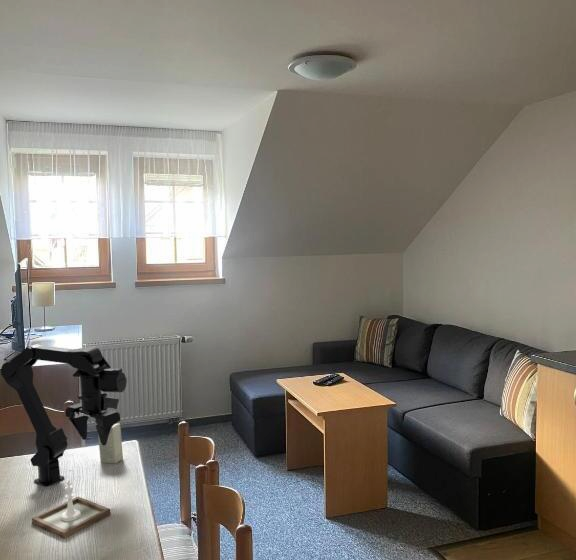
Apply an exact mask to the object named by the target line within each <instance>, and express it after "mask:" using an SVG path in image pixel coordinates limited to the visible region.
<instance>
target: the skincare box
mask: <svg viewBox="0 0 576 560" xmlns="http://www.w3.org/2000/svg"><path fill="white" fill-rule="evenodd" d="M97 436H98V450H99V458H100V463H109V464H117V463H118V462H120V461H122V459H124V455H123V454H124V453H123V442H122V441H123V440H122V429H121V423H119V422H117V423H116V424H114V425H113V426H112V428H111V430H110V433H109V436H108V440H107V443H106V445H104V446H103V445H102V443H101V441H100V438H99V435H98V434H97Z"/></svg>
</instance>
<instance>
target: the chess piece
mask: <svg viewBox="0 0 576 560" xmlns="http://www.w3.org/2000/svg"><path fill="white" fill-rule="evenodd" d="M70 481H71V480H70V479H67V481H66V482H65V483H66V484H67V486H65V487H64V491H65V493H66V494H65V497H64V498H65V499H67V501H68V506H67V510H66V512H64V513H63V514H62V515H61V520H63V521H73V520H76V519H78V518H79V517H80V516H81V513H80V511H79V510H75V509H74V507H73V502H72V499H73V498H75V497H74V496H75V495H74V493H73V488H74V486H73V485H72V482H70Z"/></svg>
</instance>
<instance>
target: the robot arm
mask: <svg viewBox="0 0 576 560" xmlns="http://www.w3.org/2000/svg"><path fill="white" fill-rule="evenodd" d="M37 361H43V362H44V361H46V362H53V363H61V364H66V365H69V366H70V367H72V368H73V369H76V371H75V372H74V373H73V374H72V377H74V378H79V382H80V383H79V386H80V394H79V395H77V400H81V402H78V403H75V404H72V405H69V406H67V407H66V409H65V417H66V418H68V421H70V422H71V423H72V425H73V426H74V428H75V429H76V431H77V432H78V435H79V436H80V438H81V439H82V440H86V439H88V438H87V437H88V420H89V418H92V419H93V418H94V419H95V423H96V425H95V428H96V432H97V436H98V435H99V438H100V441H101V443H102V445H103V446H104V445H106V443H107V440H108V436H109V433H110V430H111V428H112V426H113V425H114V424H116V423H119V422H121V420H122V419H121V413H120V412H119V411H116V410H117V409H118V407H119V401H120V398H116V397H112V396H108V394H107V393H123V392H124V391H125V390H126V388H127V381H128V380H127V377H126V375H125V373H124V372H123V368H119V367H118V368H111V365H110V364H109V363H108V361H107V360H106V358H105V357H104V356H103V353H102V351H101V350H100V348H98V347H95V346H91V347H81V348H67V347H66V348H65V347H57V346H52V345H51V346H50V345H42V344H38V343H36V344H32V345H29V346H26V347H24V349H23V350H22V351H21V352H20V353H18V354H17V355H15V356H14V357H13V358H11V359H10V360H9V361H6V362H4V363H2V365H1V368H0V375H1V376H2V378H3V380H4V381H5V382H6V385H8V386H9V387H11V388H12V389H13V390H15V391H16V394H17V395H18V397H19V399H20V402H21V404H22V407H23V408H24V410H25V412H26V415H27V417H28V419H29V421H30V422H31V425H32V428H33V429H34V431H35V434H36V435H35V448H36V453H35V454H34V455H33V456H32V457H31V458H30V462H31V465H32V466H33V467H37V473H38V478H35V479H34V480H33V481H34V483H37V484H38V485H41V486H44V487H48V486H51V485H52V484H56V483H57V482H60V481H62V480H64V479H65V476H64V475H61V471H60V470H61V469H60V461H59V459H60V458H61V457H63V456H64V453H65V451H66V450H67V447H68V437H67V436H66V434H65V432H64V429H63V428H62V427H59V428H57V427H55V426H54V425H53V424H52V422H51V419H50V418H49V415H48V413H47V411H46V409H45V407H44V405H43V402H42V400H41V398H40V396H39V394H38V392H37V389H36V388H35V385H34V383H33V382H34V370H33V366H34V365H35V364H36V363H37ZM106 392H107V393H106ZM108 409H109V410H108ZM112 409H114V410H112ZM103 411H104V412H103Z"/></svg>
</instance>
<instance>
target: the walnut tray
mask: <svg viewBox="0 0 576 560" xmlns="http://www.w3.org/2000/svg"><path fill="white" fill-rule="evenodd" d="M72 502H73V507H74V509H75V510H79V511H80V513H81V516H80V517H79V518H78V519H76V520H73V521H63V520H61V515H62V514H63V513H64V512H66V510H67V506H68V500H67V501H65V502H63V503H61V504H58V505H56V506H55V507H52V508H49V509H48V510H46V511H43V512H42V513H38V514H37V515H35V516H33V517H31V525H33V526H36V527H38V528H40V529H43V530H44V531H47V532H48V533H51V534H52V535H55V536H58V537H60V538H62V539H64V540H65V539H67V538H69V537H70V536H73V535H75V534H76V533H79V532H81V531H82V530H84V529H86V528H89V527H90V526H92V525H94V524H96V523H98V522H100V521H102V520H104V519H105V518H107V517H109V516H111V514H112V513H111V508H109V507H106V506H103V505H101V504H99V503H96V502H94V501H91V500H89V499H85V498H83V497H81V496H75V497H73V498H72Z"/></svg>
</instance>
